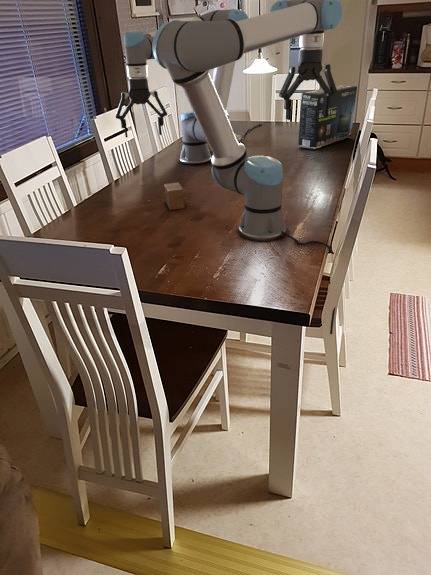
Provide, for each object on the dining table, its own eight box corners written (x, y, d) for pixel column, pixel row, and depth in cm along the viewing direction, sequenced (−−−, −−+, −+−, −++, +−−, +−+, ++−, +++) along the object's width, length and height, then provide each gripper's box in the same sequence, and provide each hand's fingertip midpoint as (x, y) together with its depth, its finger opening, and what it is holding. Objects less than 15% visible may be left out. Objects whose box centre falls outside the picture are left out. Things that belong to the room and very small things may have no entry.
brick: (166, 202, 176) (164, 184, 173) (180, 200, 178) (178, 182, 174) (169, 210, 169) (168, 191, 166) (184, 208, 171) (183, 189, 167)
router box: (314, 151, 231) (318, 94, 217) (296, 148, 237) (299, 92, 224) (352, 138, 251) (358, 85, 238) (335, 135, 258) (340, 83, 245)
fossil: (235, 141, 239) (215, 122, 242) (224, 158, 245) (206, 140, 249) (251, 139, 253) (233, 122, 256) (241, 155, 259) (223, 138, 262)
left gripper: (104, 80, 169) (112, 139, 179) (171, 77, 173) (175, 135, 184) (104, 78, 175) (111, 135, 186) (169, 75, 180) (172, 131, 190)
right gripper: (279, 51, 142) (276, 122, 153) (351, 47, 147) (344, 116, 158) (270, 50, 148) (268, 118, 159) (340, 45, 153) (334, 112, 164)
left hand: (143, 135), depth 185 cm, fingers open, 13 cm apart
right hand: (306, 117), depth 159 cm, fingers open, 13 cm apart
